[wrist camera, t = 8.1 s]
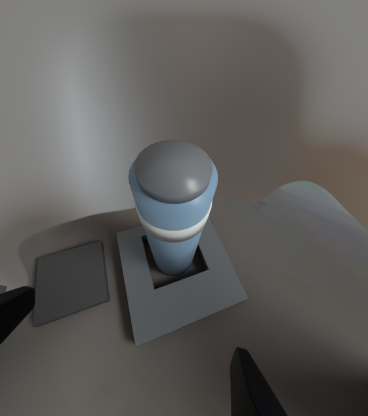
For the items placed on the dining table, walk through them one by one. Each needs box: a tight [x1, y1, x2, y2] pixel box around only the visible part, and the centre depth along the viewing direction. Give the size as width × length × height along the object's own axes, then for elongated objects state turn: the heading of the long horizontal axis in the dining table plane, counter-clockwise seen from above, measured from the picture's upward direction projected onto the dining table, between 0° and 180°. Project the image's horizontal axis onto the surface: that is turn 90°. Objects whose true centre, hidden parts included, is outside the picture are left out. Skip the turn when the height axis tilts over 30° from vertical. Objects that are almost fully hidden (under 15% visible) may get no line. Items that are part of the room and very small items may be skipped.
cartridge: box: [129, 140, 218, 276], centre depth 16 cm, size 5×5×16 cm
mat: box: [33, 241, 110, 327], centre depth 20 cm, size 7×7×1 cm
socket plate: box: [116, 216, 249, 347], centre depth 21 cm, size 12×12×2 cm
